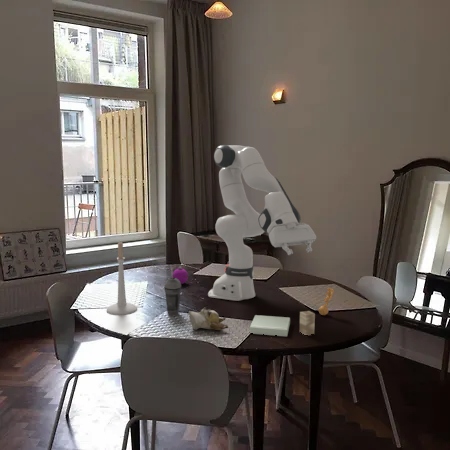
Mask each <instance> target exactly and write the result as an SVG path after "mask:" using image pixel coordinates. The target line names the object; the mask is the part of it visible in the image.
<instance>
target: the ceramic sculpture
mask: <svg viewBox="0 0 450 450" xmlns="http://www.w3.org/2000/svg"><path fill="white" fill-rule="evenodd" d="M188 315H189V317H188V318H189V322H190V324H191V326H192V329H194V330H195V331H196V330H198V329H205V330H215V331H221V330H225V329H228V328H229V326H228V325H225V324H224V323H222V322H224V321H226V317H223V318H221V317H220V315H219V313H218V312H216V311H215V310H213V309H209V307H204V308H203V309H200V311H199V312H196V311H190V310H189V311H188Z"/></svg>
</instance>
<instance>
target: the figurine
mask: <svg viewBox="0 0 450 450" xmlns="http://www.w3.org/2000/svg"><path fill="white" fill-rule="evenodd" d="M326 290H327V292H326V293H325V294H324V299H323V300H324V302H325V303H324V304H322V305H321V306H320V307H318V312H319V314H320V315H322V316H327V314H328V313H329V307H328V305H329V303H330V302H331V299H332V297H333V296H334V292H335V289H333V288H330V286H329V287H327V288H326ZM325 296H326V297H325Z"/></svg>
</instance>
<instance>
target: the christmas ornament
mask: <svg viewBox="0 0 450 450" xmlns="http://www.w3.org/2000/svg"><path fill="white" fill-rule="evenodd" d="M172 272H173V278H177V279H178V280H179V281H180V283H181V285H184V284H185V283H186V282H187V281H188V278H189V273H188V271H187V270H186V269H184V268H183V267H182V266H181V264H179V266H177V268H176V269H175V270H174V271H172Z"/></svg>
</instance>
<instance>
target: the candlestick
mask: <svg viewBox="0 0 450 450" xmlns="http://www.w3.org/2000/svg"><path fill="white" fill-rule="evenodd" d="M123 244H124V243H123V242H121V241H119V242H117V255H118V256H117V257H116V259H117V263H118V278H117V281H118V282H117V303H113V304H111V305H109V306H108V307H107V308H106V312H107V314H109V315H115V316H123V315H124V316H125V315H131V314H133V313H136V312H137V311H138V306H136V305H135V304H133V303H130V302H127V298H126V284H125V274H124V273H125V271H124V270H125V269H124V262H125V259H126V257H124V249H123V248H124V245H123Z"/></svg>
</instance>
